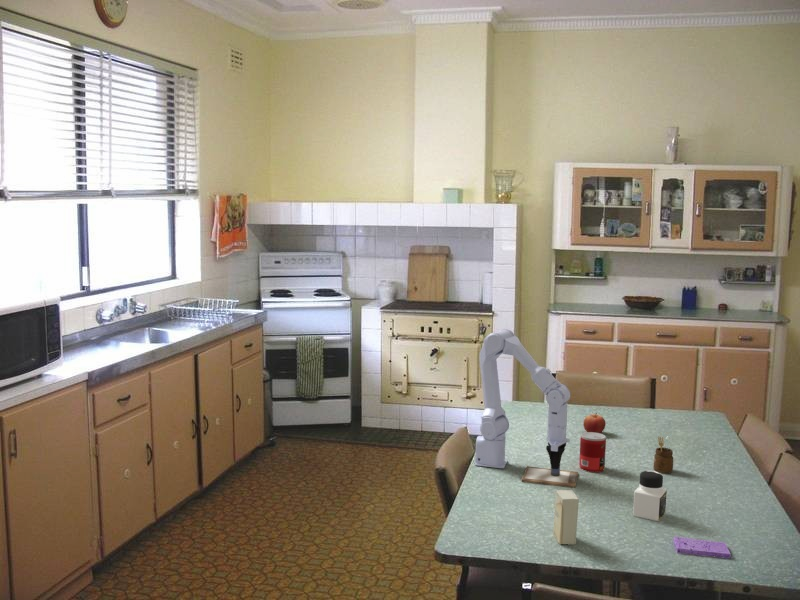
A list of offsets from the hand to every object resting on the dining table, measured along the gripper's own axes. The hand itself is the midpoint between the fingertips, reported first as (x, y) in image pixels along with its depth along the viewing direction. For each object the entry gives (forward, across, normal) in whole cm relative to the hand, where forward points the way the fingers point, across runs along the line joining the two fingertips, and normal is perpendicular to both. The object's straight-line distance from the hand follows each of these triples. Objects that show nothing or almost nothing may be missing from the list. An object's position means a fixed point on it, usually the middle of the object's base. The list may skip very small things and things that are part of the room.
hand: (555, 467), depth 246 cm
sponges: (+4, -41, -40) cm, 57 cm away
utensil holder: (+3, +17, -33) cm, 37 cm away
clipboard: (+3, -1, +1) cm, 4 cm away
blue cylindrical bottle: (+2, 0, 0) cm, 2 cm away
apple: (+3, +52, -10) cm, 53 cm away
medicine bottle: (+3, -22, -28) cm, 35 cm away
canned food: (+3, +12, -11) cm, 16 cm away
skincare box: (+3, -46, -7) cm, 47 cm away
